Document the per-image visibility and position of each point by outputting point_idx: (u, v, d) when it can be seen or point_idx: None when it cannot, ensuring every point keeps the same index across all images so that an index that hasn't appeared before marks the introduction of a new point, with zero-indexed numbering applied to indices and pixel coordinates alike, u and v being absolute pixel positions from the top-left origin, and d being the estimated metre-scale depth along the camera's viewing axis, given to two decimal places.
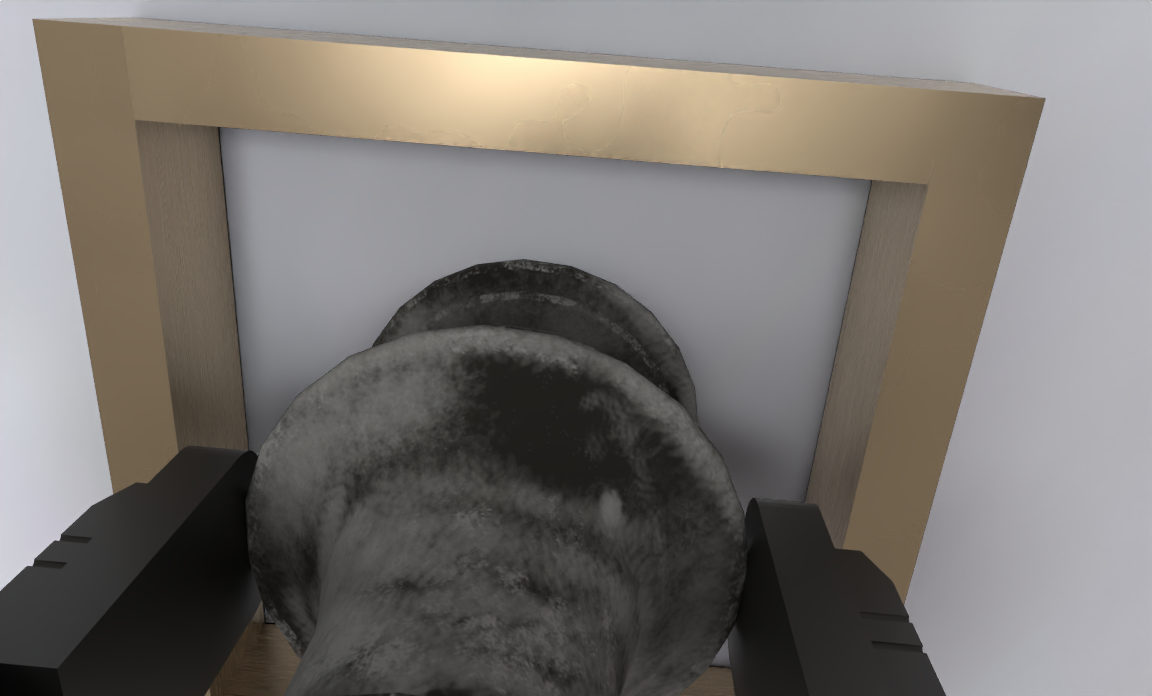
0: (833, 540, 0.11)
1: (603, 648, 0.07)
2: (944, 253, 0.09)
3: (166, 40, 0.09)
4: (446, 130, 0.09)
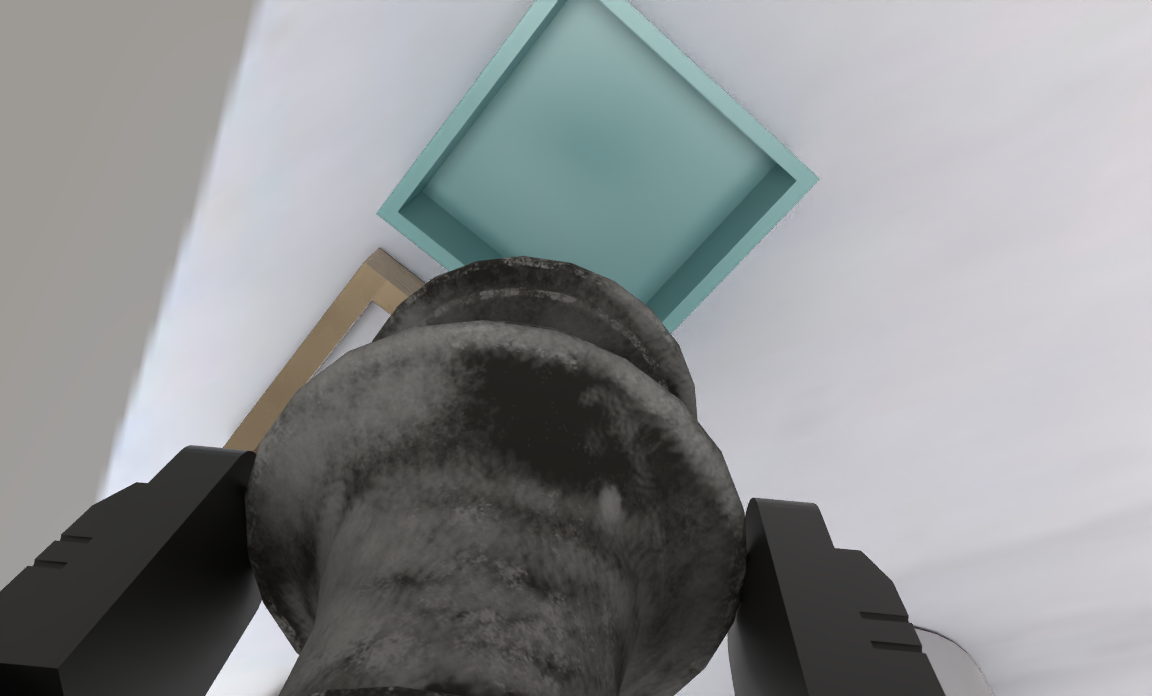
0: None
1: (602, 643, 0.07)
2: None
3: (395, 290, 0.30)
4: None
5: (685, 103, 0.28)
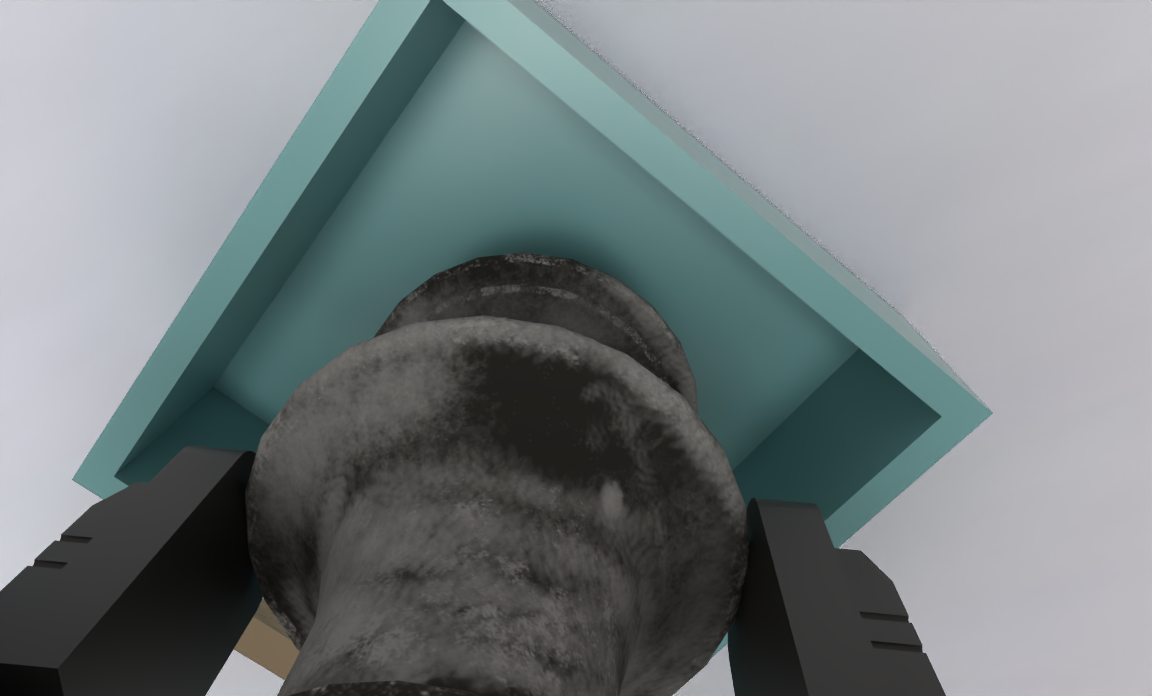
0: None
1: (603, 639, 0.07)
2: None
3: None
4: (284, 672, 0.17)
5: (696, 228, 0.14)
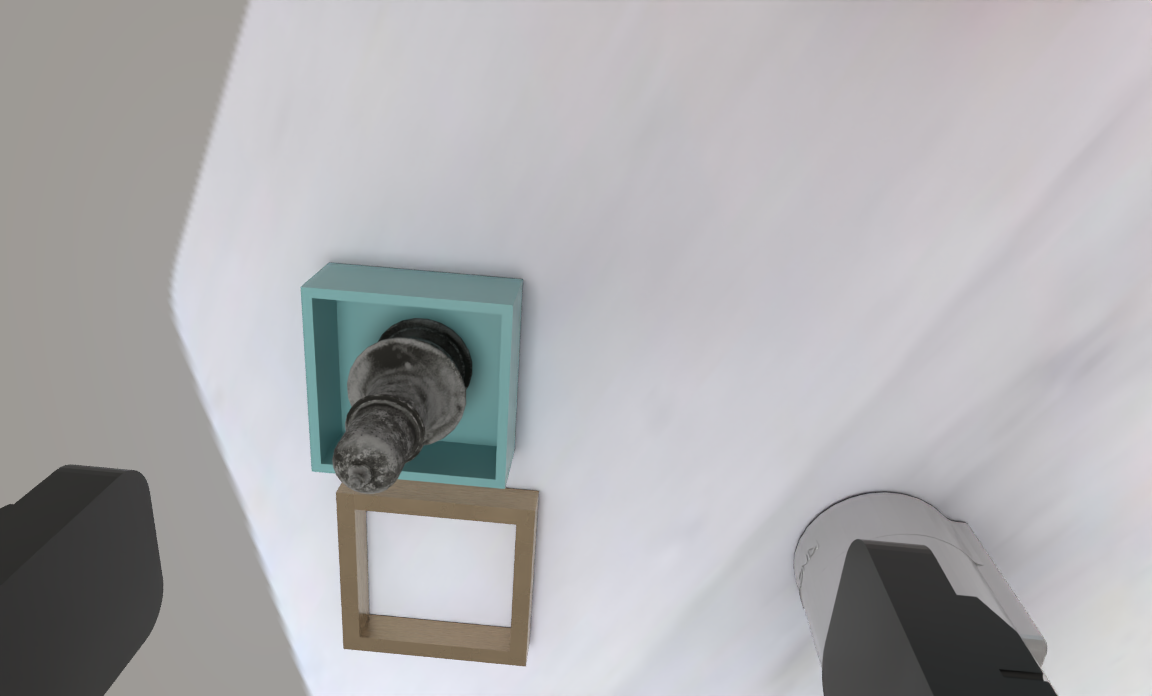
0: None
1: (409, 387, 0.38)
2: (522, 536, 0.45)
3: (362, 496, 0.45)
4: (418, 512, 0.45)
5: None
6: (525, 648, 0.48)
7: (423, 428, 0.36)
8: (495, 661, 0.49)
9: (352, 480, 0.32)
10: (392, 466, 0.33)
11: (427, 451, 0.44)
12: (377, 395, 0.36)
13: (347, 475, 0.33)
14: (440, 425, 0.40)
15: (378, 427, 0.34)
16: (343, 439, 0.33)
